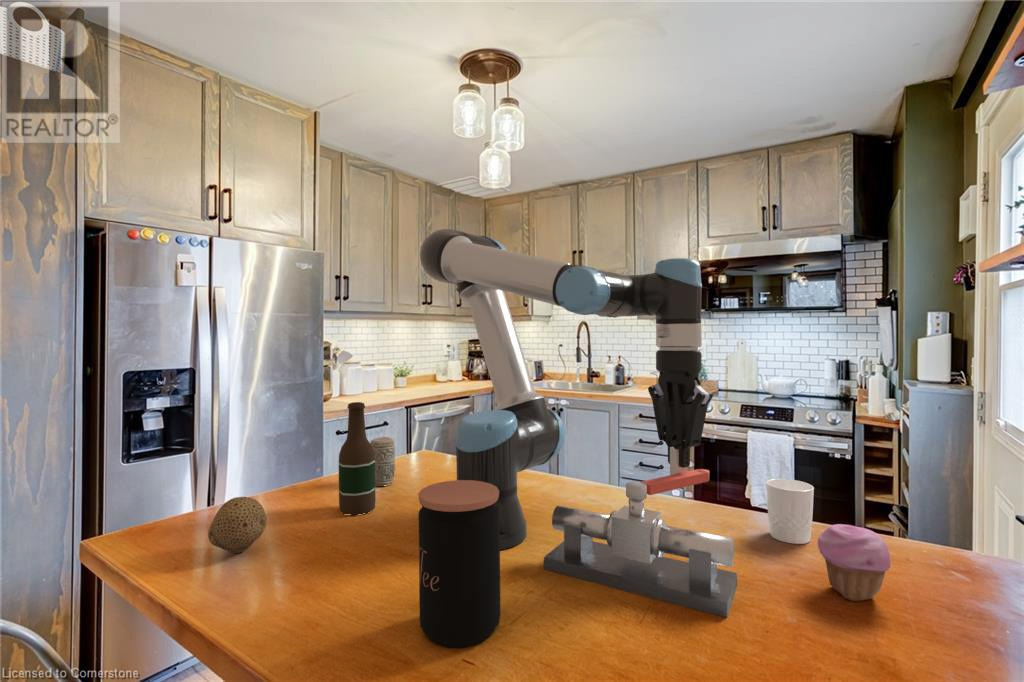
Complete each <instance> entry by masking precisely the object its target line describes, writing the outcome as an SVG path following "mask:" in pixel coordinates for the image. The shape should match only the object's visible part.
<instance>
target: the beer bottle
mask: <svg viewBox="0 0 1024 682" xmlns="http://www.w3.org/2000/svg"><path fill="white" fill-rule="evenodd" d="M365 405H366V404H365V403H364V402H359V401H355V402H349V403H348V404H347V408H346V409H348V418H347V420H348V421H347V434H346V440H345V441H344V443H343V444H342V445H341V448H340V450H339V453H338V506H339V512H340V511H341V512H342V513H343V514H351V515H358V514H363V513H368V512H370V511H371V510H372V511H374V510H375V509H374V508H376V486H375V454H374V450H373V447H372V445H371V444H370V443H371V441H369V439H368V437H367V433H366V423H365V408H366V406H365ZM373 509H374V510H373ZM372 511H371V512H372ZM341 512H340V513H341ZM371 512H370V513H371ZM342 513H341V514H342ZM343 514H342V515H343ZM368 514H369V513H368ZM363 515H364V514H363Z"/></svg>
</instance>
